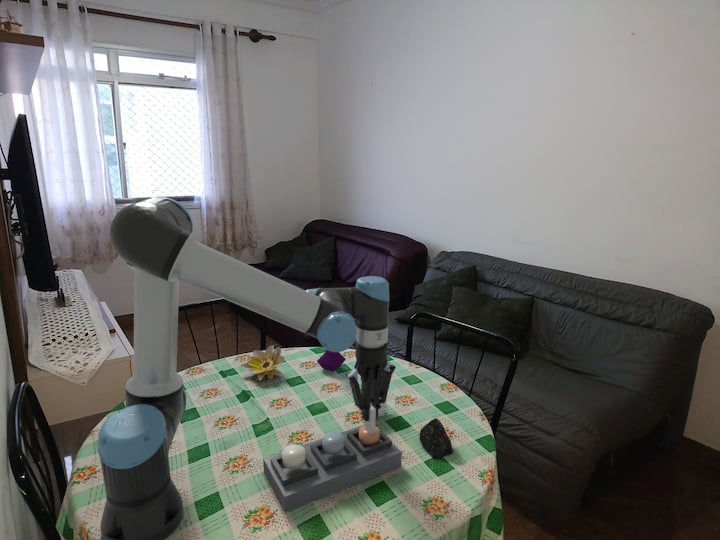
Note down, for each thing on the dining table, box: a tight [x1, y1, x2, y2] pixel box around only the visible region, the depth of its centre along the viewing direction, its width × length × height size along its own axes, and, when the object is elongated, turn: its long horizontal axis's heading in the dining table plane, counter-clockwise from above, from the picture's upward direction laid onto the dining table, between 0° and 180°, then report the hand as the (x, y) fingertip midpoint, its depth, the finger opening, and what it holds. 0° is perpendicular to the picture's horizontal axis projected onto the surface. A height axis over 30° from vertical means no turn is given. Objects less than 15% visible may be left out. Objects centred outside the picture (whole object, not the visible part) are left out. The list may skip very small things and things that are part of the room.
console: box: [262, 424, 403, 514], centre depth 106 cm, size 30×14×6 cm, turn 120°
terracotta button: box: [359, 424, 381, 446], centre depth 110 cm, size 5×5×2 cm
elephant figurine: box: [358, 396, 390, 418], centre depth 129 cm, size 10×12×9 cm
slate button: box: [321, 431, 344, 455], centre depth 105 cm, size 5×5×2 cm
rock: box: [418, 417, 454, 460], centre depth 115 cm, size 7×10×6 cm
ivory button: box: [281, 444, 306, 469], centre depth 100 cm, size 5×5×2 cm
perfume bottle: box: [316, 349, 347, 373], centre depth 155 cm, size 8×8×18 cm
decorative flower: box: [239, 344, 286, 381], centre depth 152 cm, size 15×11×10 cm
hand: (369, 430), depth 110 cm, fingers closed
